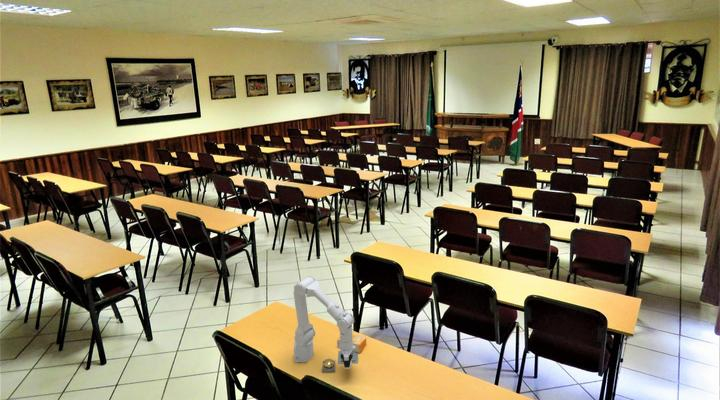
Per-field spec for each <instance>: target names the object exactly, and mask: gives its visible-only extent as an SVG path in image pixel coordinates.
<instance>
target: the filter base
mask: <svg viewBox="0 0 720 400" xmlns="http://www.w3.org/2000/svg"><path fill="white" fill-rule="evenodd" d="M337 352H338V353H337V364H338V365H343V360H342V359H341V354H342V352H341V350H338V351H337ZM352 354H353V357H352V365H353V364H359V353H358V352H354V351H352V352H351V355H352Z"/></svg>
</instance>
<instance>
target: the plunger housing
mask: <svg viewBox="0 0 720 400" xmlns="http://www.w3.org/2000/svg"><path fill="white" fill-rule="evenodd" d="M333 361H334V365H333V366H332V367H325V366H324V364H323V362H324V360H323V361H322V368H321V372H322V374H323V373H327V374H328V373H336V360H333Z"/></svg>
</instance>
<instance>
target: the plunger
mask: <svg viewBox="0 0 720 400" xmlns="http://www.w3.org/2000/svg"><path fill="white" fill-rule="evenodd" d="M323 361H324V362H323ZM323 361H322V365H323V364H324V366H325V367H333V365H334V360H333V359H332V358H327V359H324V360H323Z"/></svg>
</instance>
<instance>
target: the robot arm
mask: <svg viewBox="0 0 720 400" xmlns="http://www.w3.org/2000/svg"><path fill="white" fill-rule="evenodd" d="M307 297H308V298H309V297H314V298H316V299H317V300H318V301H319V302H320V303H321V304H322V305H323V306H324V307H326V312H327V313H328V314H329V315H330V316H331V317H332V318H333V319H334V320H335V322H336V326H337V328H338V330H339V331H338V332H339V337H340V348H339V351H341V352H342V354H341V359H342V360H343V363H344V366H345V368H348V367H350V362H351V359H352V357H353V354H352V355H351V352H352V350H353V349H355V346H353V339H352V335H353V325H354V323H355V317H354V316H353V314H352V313H351V312H347V311H346V310H344V309H343V308H342V307H341V306H340V305H339V304H338V303H337V302H335V301H332V300H331V299H330V298H329V296H328V295H327V294H326V293H325V292H324V290H323V289H322V288H321V287H320V284H319V281H318V280H317V279H316V278H315V276H313V275H308V276H307V277H305V278H304V279H302V280H301V281H299V282H298V283H296V284H295V285H294V286H293V299H294V300H293V301H294V306H295V312H296V319H297V327H296V329H295V331H294V338H293V339H294V343H293V356H294V357H293V358H294V363H308V361H310V360H311V359H313V357H314V343H313V341H314V338H315V336H316V330H315V328H314V325H313V323H311V322H310V319H309V311H308V303H307ZM345 368H344V369H345Z"/></svg>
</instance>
